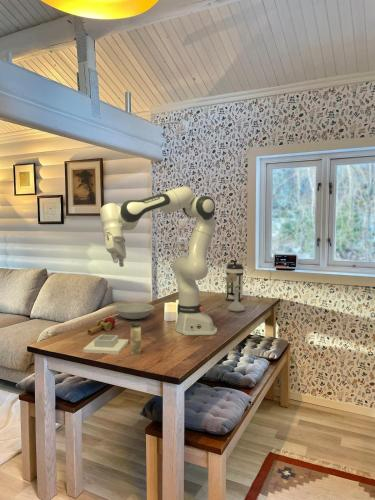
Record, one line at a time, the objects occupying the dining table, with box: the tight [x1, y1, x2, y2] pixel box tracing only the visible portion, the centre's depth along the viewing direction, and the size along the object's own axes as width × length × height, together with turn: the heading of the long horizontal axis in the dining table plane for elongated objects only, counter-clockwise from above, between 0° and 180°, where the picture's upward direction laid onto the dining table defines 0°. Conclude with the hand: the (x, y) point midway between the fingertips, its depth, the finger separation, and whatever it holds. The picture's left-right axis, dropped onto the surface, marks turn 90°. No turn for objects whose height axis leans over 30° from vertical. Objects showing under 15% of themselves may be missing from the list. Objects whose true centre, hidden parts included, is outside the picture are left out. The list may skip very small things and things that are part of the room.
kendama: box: [86, 316, 116, 336], centre depth 197 cm, size 8×6×18 cm
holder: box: [82, 334, 129, 355], centre depth 171 cm, size 16×16×4 cm
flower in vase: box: [225, 273, 246, 313], centre depth 245 cm, size 13×11×25 cm
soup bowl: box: [113, 302, 155, 320], centre depth 224 cm, size 24×24×7 cm
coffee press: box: [225, 259, 245, 303], centre depth 277 cm, size 17×16×30 cm
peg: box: [130, 321, 142, 356], centre depth 164 cm, size 5×5×13 cm
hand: (118, 264), depth 172 cm, fingers open, 8 cm apart
